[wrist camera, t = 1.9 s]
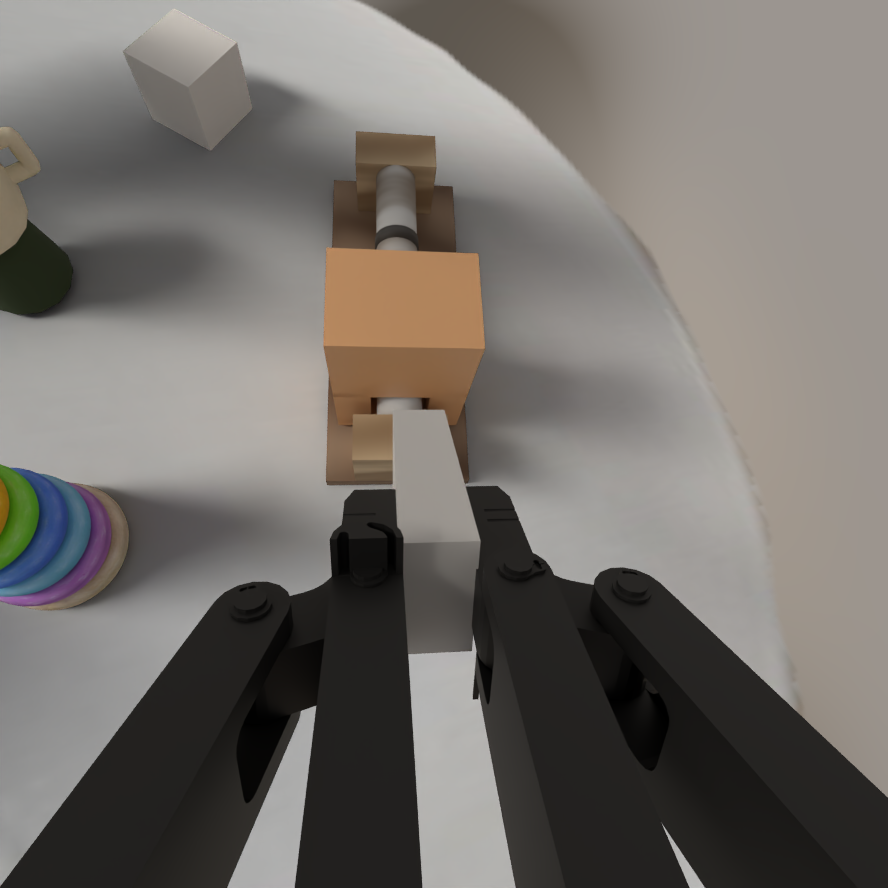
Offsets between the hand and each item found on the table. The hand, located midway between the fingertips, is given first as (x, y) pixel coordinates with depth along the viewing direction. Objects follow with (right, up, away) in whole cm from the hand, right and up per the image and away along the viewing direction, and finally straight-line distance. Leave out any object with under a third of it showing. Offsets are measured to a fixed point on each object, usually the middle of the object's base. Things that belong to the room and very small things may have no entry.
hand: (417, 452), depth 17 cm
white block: (-20, +29, +32) cm, 48 cm away
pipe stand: (-3, +10, +27) cm, 29 cm away
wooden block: (-3, +4, +24) cm, 25 cm away
